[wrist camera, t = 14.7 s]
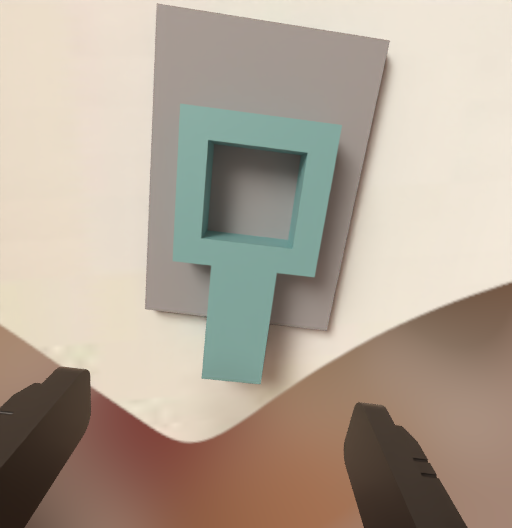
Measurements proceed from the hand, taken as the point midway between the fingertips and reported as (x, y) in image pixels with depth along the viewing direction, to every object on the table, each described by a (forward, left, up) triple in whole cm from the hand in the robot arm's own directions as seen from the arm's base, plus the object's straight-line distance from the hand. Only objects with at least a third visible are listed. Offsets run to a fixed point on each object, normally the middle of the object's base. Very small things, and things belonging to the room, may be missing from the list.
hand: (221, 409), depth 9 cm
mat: (-6, 0, -8) cm, 10 cm away
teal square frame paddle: (-3, 0, -8) cm, 8 cm away
